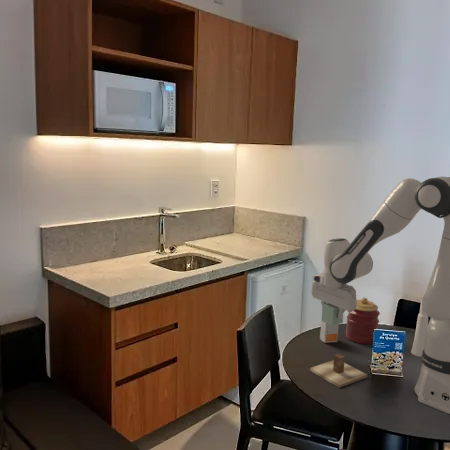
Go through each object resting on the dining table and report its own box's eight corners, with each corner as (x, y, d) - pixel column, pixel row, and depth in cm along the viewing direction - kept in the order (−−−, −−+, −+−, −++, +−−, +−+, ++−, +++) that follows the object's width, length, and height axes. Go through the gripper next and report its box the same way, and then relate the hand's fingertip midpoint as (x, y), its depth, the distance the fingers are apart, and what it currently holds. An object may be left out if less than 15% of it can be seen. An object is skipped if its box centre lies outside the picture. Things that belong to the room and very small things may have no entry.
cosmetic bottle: (430, 354, 190) (436, 300, 186) (422, 358, 186) (428, 304, 182) (415, 349, 194) (421, 296, 190) (407, 353, 190) (413, 299, 186)
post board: (366, 377, 170) (368, 359, 169) (339, 387, 162) (340, 368, 161) (337, 361, 181) (338, 344, 180) (309, 370, 174) (310, 352, 172)
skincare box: (324, 343, 197) (326, 315, 195) (319, 339, 201) (321, 311, 199) (337, 342, 198) (340, 314, 196) (332, 337, 202) (334, 310, 200)
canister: (353, 345, 196) (357, 303, 192) (340, 332, 208) (343, 293, 205) (383, 343, 198) (387, 302, 195) (367, 330, 211) (371, 292, 208)
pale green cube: (342, 322, 185) (343, 306, 184) (332, 325, 182) (333, 308, 181) (331, 318, 190) (332, 301, 189) (321, 320, 187) (322, 304, 186)
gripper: (361, 286, 176) (359, 322, 179) (321, 272, 193) (319, 306, 196) (349, 288, 173) (347, 325, 175) (309, 275, 190) (308, 308, 192)
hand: (332, 315), depth 186 cm, fingers closed on pale green cube, 6 cm apart
